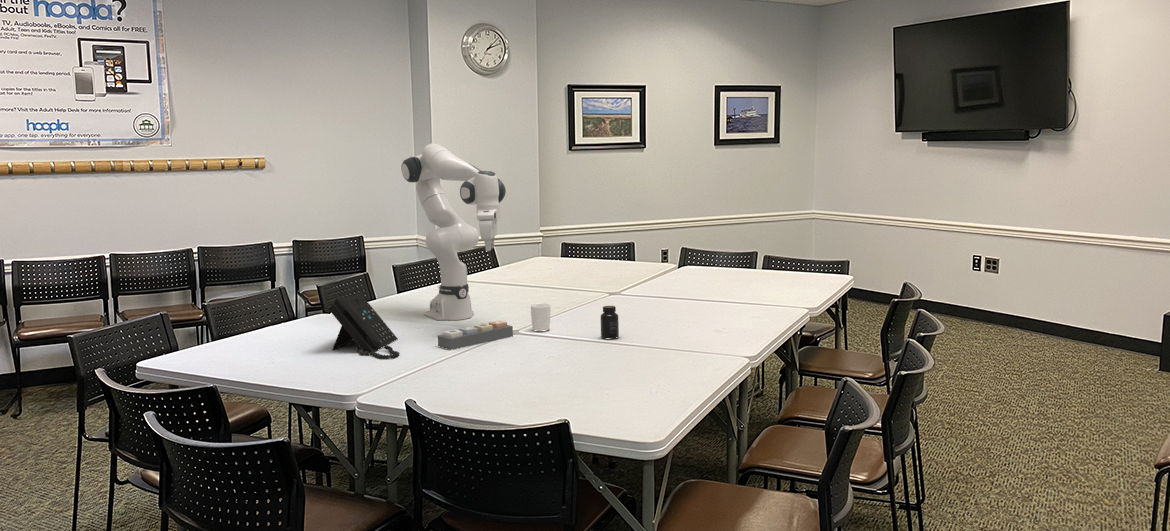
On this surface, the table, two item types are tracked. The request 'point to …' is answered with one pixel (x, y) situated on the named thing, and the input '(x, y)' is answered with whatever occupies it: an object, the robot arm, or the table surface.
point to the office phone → (362, 326)
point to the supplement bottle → (609, 322)
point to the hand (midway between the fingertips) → (490, 249)
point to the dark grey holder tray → (475, 338)
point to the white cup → (540, 316)
